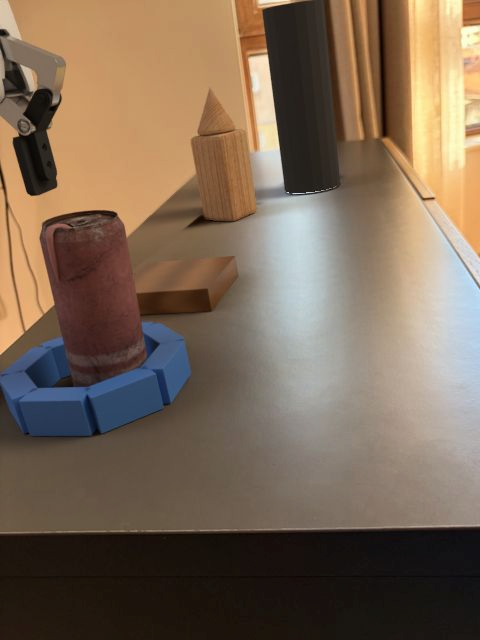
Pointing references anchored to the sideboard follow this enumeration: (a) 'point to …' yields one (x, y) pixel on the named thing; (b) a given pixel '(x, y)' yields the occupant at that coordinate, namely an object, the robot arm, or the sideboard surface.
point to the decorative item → (222, 165)
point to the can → (94, 294)
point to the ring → (93, 388)
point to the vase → (302, 95)
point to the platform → (184, 284)
